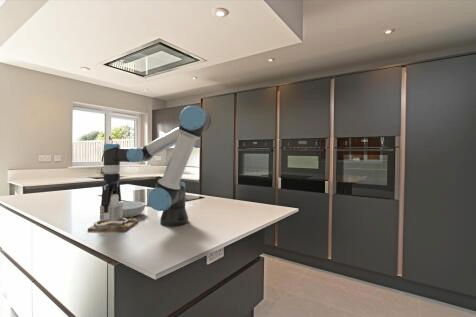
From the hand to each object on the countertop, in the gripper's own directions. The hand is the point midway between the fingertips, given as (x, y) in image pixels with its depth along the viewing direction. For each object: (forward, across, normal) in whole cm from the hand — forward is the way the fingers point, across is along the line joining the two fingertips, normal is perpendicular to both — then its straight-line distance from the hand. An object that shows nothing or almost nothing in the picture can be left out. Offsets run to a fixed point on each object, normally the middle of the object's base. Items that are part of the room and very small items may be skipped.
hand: (111, 216), depth 126 cm
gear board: (+5, 0, +2) cm, 6 cm away
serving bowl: (+6, -21, -2) cm, 22 cm away
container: (+2, 0, 0) cm, 2 cm away
